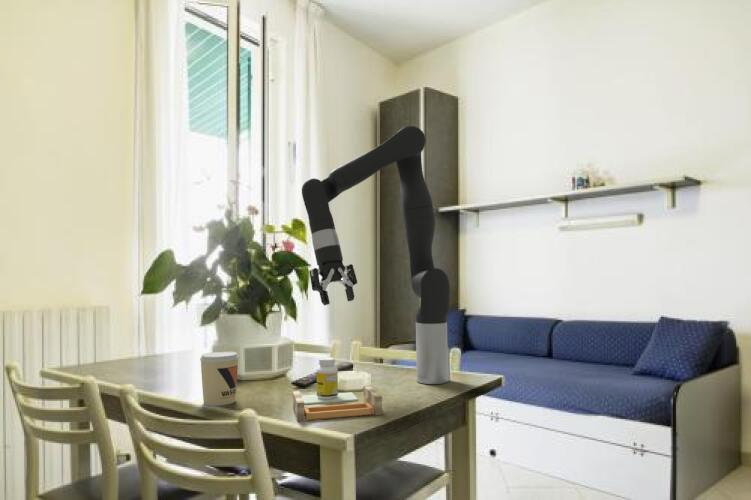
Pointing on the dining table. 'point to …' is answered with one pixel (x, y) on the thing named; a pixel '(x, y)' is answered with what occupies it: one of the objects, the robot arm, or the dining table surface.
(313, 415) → the orange rectangular tray
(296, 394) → the tunnel walls
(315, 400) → the mat
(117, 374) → the dining table surface
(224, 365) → the coffee cup
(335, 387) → the supplement bottle
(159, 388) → the dining table surface
